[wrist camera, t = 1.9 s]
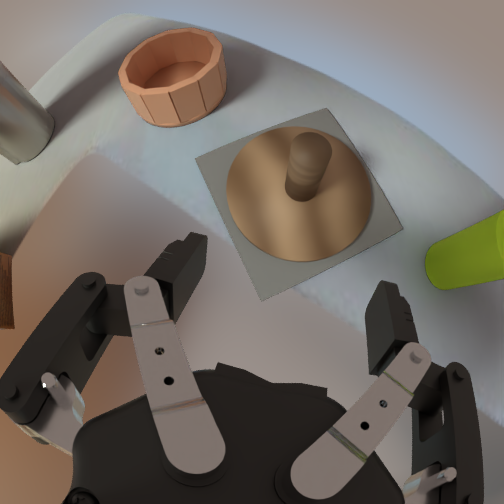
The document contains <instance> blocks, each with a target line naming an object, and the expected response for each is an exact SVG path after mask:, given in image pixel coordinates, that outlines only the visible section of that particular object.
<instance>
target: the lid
mask: <svg viewBox="0 0 504 504" xmlns="http://www.w3.org/2000/svg"><path fill="white" fill-rule="evenodd" d="M226 194H227V202H228V206H229V210H230V213H231V215H232V218H233V220H234V222H235V224H236V225H237V227H238V229H239V230H240V231H241V233H242V234H243V235H244V237H245V238H246V239H247V240H248V241H249V242H250V243H252V244H253V245H254V246H256V247H257V248H258V249H260V250H261V251H263V252H265V253H267V254H269V255H271V256H273V257H276V258H279V259H282V260H286V261H292V262H312V261H318V260H322V259H326V258H328V257H331V256H333V255H335V254H337V253H338V252H340V251H342V250H343V249H344V248H346V247H347V246H348V245H349V244H351V243H352V242H353V241H354V240H355V239H356V237H357V236H358V235H359V234H360V232H361V231H362V229H363V228H364V226H365V224H366V221H367V219H368V216H369V213H370V207H371V189H370V183H369V180H368V176H367V174H366V171H365V169H364V167H363V166H362V164H361V162H360V161H359V159H358V158H357V156H356V155H355V154H354V153H353V152H352V151H351V150H350V149H349V148H348V147H347V146H346V145H345V144H344V143H342V142H341V141H339V140H338V139H336V138H335V137H333V136H331V135H329V134H327V133H325V132H322V131H320V130H316V129H312V128H307V127H297V126H291V127H282V128H276V129H273V130H270V131H267V132H265V133H263V134H260V135H259V136H257V137H255V138H254V139H252V140H251V141H250V142H248V143H247V144H246V145H245V146H244V147H243V148H242V149H241V150H240V152H239V153H238V154H237V156H236V157H235V159H234V161H233V163H232V165H231V167H230V170H229V173H228V177H227V184H226Z"/></svg>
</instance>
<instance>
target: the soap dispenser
mask: <svg viewBox="0 0 504 504" xmlns="http://www.w3.org/2000/svg"><path fill="white" fill-rule="evenodd" d="M425 269H426V273H427V276H428V278H429V280H430V281H431V283H432V284H433V285H434V286H435V287H437V288H439V289H441V290H449V289H454V288H460V287H465V286H471V285H476V284H481V283H486V282H491V281H496V280H500V279H504V210H502V211H500V212H498V213H496V214H494V215H492V216H490V217H489V218H487V219H485V220H483V221H481V222H479V223H477V224H474V225H472V226H470V227H468V228H466V229H464V230H462V231H460V232H458V233H456V234H454V235H452V236H450V237H447V238H445V239H443V240H441V241H439V242H437V243H435V244H433V245H432V246H431V247H430V248H429V250H428V252H427V254H426V259H425Z"/></svg>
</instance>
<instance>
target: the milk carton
mask: <svg viewBox="0 0 504 504" xmlns="http://www.w3.org/2000/svg"><path fill="white" fill-rule="evenodd" d="M11 268H12V256H11V255H7V254H4V253H1V252H0V329H14V328H15V327H14V316H13V302H12V269H11Z"/></svg>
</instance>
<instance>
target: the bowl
mask: <svg viewBox="0 0 504 504" xmlns="http://www.w3.org/2000/svg"><path fill="white" fill-rule="evenodd" d="M118 75H119V78H120V82H121V86H122V88H123V90H124V91H125V93H126V95H127V97H128V98H129V100H130V102H131V103H132V105H133V107H134V108H135V110H136V112H137V113H138V115H139V116H141V117H142V118H143V119H144V120H145V121H146V122H148V123H149V124H151V125H154V126H158V127H164V128H172V127H180V126H184V125H188V124H191V123H193V122H196V121H198V120H200V119H202V118H204V117H205V116H207V115H208V114H209V113H211V112H212V111H213V110H214V109H215V108H216V107H217V106H218V105H219V104H220V103H221V101H222V99H223V98H224V95H225V92H226V87H227V85H226V80H227V74H226V67H225V61H224V54H223V48H222V44H221V43H220V42H219V41H218V39H217V38H216V37H215V36H214V34H213V33H211V32H207V31H204V30H200V29H196V28H182V29H173V30H169V31H168V30H167V31H165V32H162V33H160V34H157V35H155V36H153V37H150V38H148V39H146V41H145V40H144V41H143V42H142V43H140V44H139V45H138V46H137V47H135V48H134V49H133V50H132V51H131V52H130V53H128V54H127V56H126V57H125V59H124V61H123V63H122V65H121V67H120V69H119V71H118Z"/></svg>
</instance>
